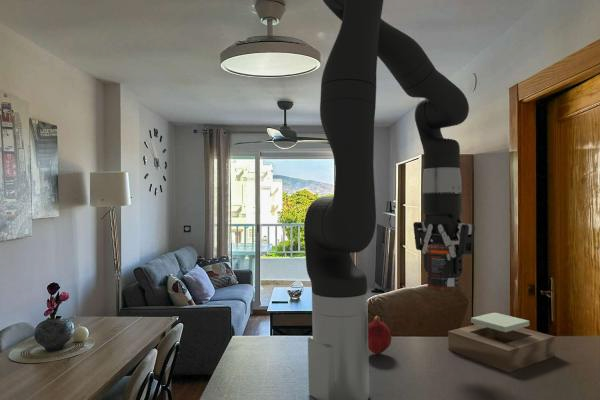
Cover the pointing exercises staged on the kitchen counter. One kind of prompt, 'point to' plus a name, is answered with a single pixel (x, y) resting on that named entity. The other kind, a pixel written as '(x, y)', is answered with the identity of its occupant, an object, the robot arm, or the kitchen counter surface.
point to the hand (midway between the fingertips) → (442, 273)
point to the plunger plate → (500, 322)
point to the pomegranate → (378, 336)
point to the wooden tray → (502, 346)
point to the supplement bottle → (439, 266)
